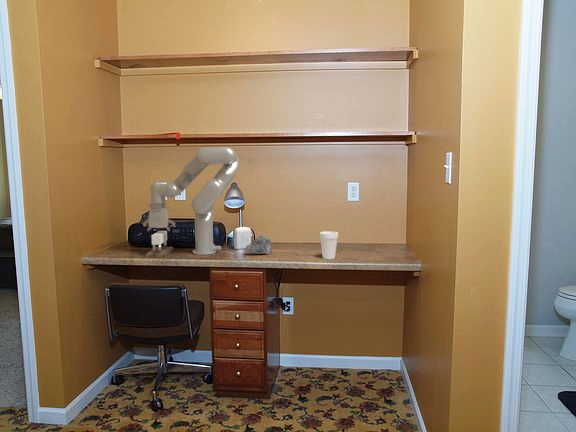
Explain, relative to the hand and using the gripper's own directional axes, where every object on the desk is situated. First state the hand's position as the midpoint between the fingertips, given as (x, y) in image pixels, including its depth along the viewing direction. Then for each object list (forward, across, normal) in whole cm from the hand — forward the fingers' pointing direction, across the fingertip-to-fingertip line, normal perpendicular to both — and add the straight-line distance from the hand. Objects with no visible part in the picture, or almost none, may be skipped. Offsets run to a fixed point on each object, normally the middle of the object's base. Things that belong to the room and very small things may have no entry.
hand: (159, 238), depth 242 cm
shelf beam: (+2, 0, 0) cm, 2 cm away
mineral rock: (+9, +54, -4) cm, 55 cm away
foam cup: (+8, +90, -15) cm, 92 cm away
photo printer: (+8, +44, +12) cm, 46 cm away
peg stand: (+8, 0, 0) cm, 8 cm away
